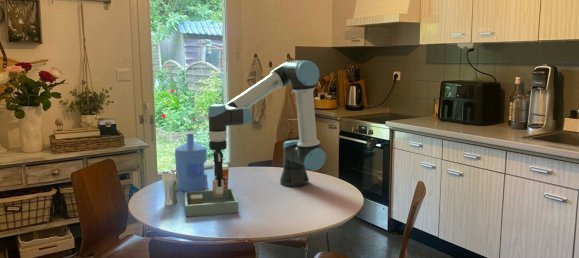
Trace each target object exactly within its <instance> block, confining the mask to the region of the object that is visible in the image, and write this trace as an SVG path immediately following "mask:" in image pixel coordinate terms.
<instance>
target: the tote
mask: <svg viewBox="0 0 579 258" xmlns="http://www.w3.org/2000/svg"><path fill="white" fill-rule="evenodd" d="M201 194H202V197H203V204H194V205H191V195H201ZM184 207H185V208H184V209H185V210H184V211H185V218H193V217H207V216H217V215H218V216H219V215H227V214H228V215H230V214H238V213H239V201H238V198H237V196H236V193H235V191H234V189H233V188H228V189H224V196H223V197H220V198H215V197H213V190H212V189H209V190H207V189H205V190H202V191H192V192H184Z"/></svg>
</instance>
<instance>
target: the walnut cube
mask: <svg viewBox="0 0 579 258" xmlns="http://www.w3.org/2000/svg"><path fill="white" fill-rule="evenodd" d="M194 204H203V197H202V194H201V195H191V205H194Z"/></svg>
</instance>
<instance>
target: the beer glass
mask: <svg viewBox="0 0 579 258" xmlns="http://www.w3.org/2000/svg"><path fill="white" fill-rule="evenodd" d="M161 176H162V177H161V180H162V189H163V192H164V205H165V206H166V207H172V206H173V207H174V206H177V205H179V200H178V191H179V190H178V173H177V171H176V169H175V170H174V169H170V170H164V171H162V175H161Z"/></svg>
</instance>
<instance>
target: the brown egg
mask: <svg viewBox="0 0 579 258" xmlns="http://www.w3.org/2000/svg"><path fill="white" fill-rule="evenodd" d="M211 184H212V185H211V186H212V189H211V190H213V197H215V198H220V197H223V196H224V180H222V185H223V193H222V194H216V180H215V179H212V182H211Z"/></svg>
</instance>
